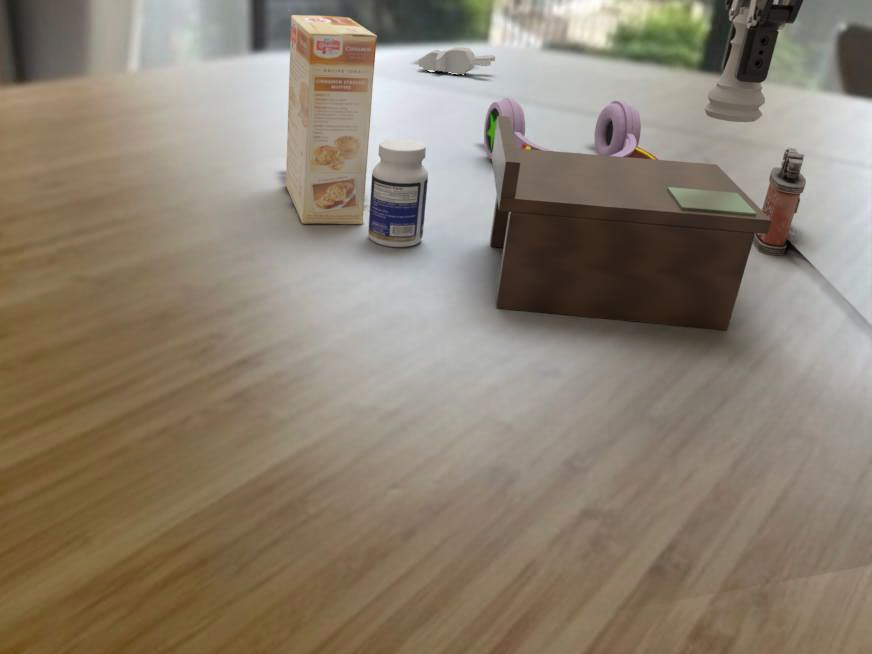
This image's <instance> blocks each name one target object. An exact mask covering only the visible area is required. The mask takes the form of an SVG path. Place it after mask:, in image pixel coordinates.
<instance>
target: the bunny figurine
mask: <svg viewBox="0 0 872 654" xmlns="http://www.w3.org/2000/svg"><path fill="white" fill-rule="evenodd" d="M492 62H496V56H495V55H494V54H487V55H479V56H476V55H475V54H474V51H472V50H471V49H470V48H469V47H464V46H462V47H461V46H459V47H453V48H450V49H446V50H442V51H441V50H439V49H436V50H434V49H433V50H432V51H430V52H428V53H427V54H425V55H424V56H422V57H419V58H418V68H422V69H423V70H424V71H425V70H433V71H437V72H441V71H442V73H446V72H451V73H458V74H457V75H460V74H465V73H466V72H467V73H469V72H470V71H471V70H473V69H474V67H475V66H479V67H491V64H492ZM467 73H466V74H467ZM466 74H465V75H466Z"/></svg>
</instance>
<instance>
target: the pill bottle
mask: <svg viewBox="0 0 872 654" xmlns="http://www.w3.org/2000/svg"><path fill="white" fill-rule="evenodd" d="M426 150H427V146H426V144H425V143H423V142H422V141H418V140H414V139H407V138H390V139H384V140H382V141H380V142H379V144H378V156H379V158H380V161H379V162H378V163H376V165H374V167H373V169H372V172H371V185H370V186H371V187H370V200H369V215H368V231H367V232H368V233H367V234H368V238H370V240H371V241H373V243H376V244H378V245H380V246H385V247H391V248H407V247H413V246H415V245H418V244H419V243H420V242H421V241H422V239H423V236H424V227H425V214H426V203H427V191H428V183H429V181H428V180H429V173H428V170H427V169H426V166H424V165H423V161H424V159H426V153H427V151H426Z"/></svg>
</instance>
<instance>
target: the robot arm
mask: <svg viewBox="0 0 872 654" xmlns="http://www.w3.org/2000/svg"><path fill="white" fill-rule="evenodd" d="M774 2H775V0H724V5H725V6H724V8H725V10H726V11H728V16H729V17H728V20H729V21H732V20H733V19H734V18H735V17H736V16H738V15H739V13H740V9H741V7H742V8H743V7H750V8H749V13H748V17H747V21H746V22H747V28H752V29H747V28H746V29H745V33H744V37H743V42H742V46H741V50H740V54H739V58H738V62H737V66H736V70H735V78H736V79H737V80H739V81H741V82H753V83H761V84H762V83H763V82H764V81H766V80H767V78H768V74H769V71H770V67H771V63H772V59H773V55H774V52H775V47H776V44H777V40H778V36H779V34H780V33H779V32H780V31H783V30H784V29H785V27H786V25H787V24H794V23H795V21H796V19H797V17H798V15H799V13H800V10H801V8H802V5H803V2H804V0H777V4H776V3H774ZM735 35H736V28H735V26H734V24H733V21H732V22H731V23H730V28H729V32H728V36H727V41H726V43H725V49H724V53H723V57H722V60H721V64H720V65H721V66H720V69H721V70H722V72H724V69H725V67H726V64H727V62H728V59H729V56H730V53H731V49H732V44H731V42H730V41H732V40H733V39H734V37H735Z"/></svg>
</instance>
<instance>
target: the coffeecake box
mask: <svg viewBox="0 0 872 654" xmlns="http://www.w3.org/2000/svg"><path fill="white" fill-rule="evenodd" d="M377 40H378V35H376V34H375V33H374V32H373V31H370V30H369V29H367V28H365V27H364V26H362V25H361V24H359V23H358V22H356V21H355V20H353V19H352V18H350V17H347V16H346V17H345V16H335V15H303V14H302V15H300V14H291V16H290V40H289V41H290V46H289V69H288V70H289V73H288V75H289V76H288V104H287V137H286V163H285V165H286V166H285V186H286V189H287V191H288V193H289V196H290V199H291V201H292V203H293V205H294V207H295V210H296V212H297V215H298V217H299V219H300V221H301V224H305V225H307V224H310V225H311V224H324V225H325V224H326V225H328V224H331V225H332V224H333V225H364V212H365V211H364V210H365V209H364V208H365V194H366V183H367V170H368V169H367V168H368V156H369V142H370V131H371V130H370V128H371V116H372V101H373V89H374V88H373V87H374V77H375V76H374V75H375V64H376V63H375V62H376V52H377V51H376V50H377Z"/></svg>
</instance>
